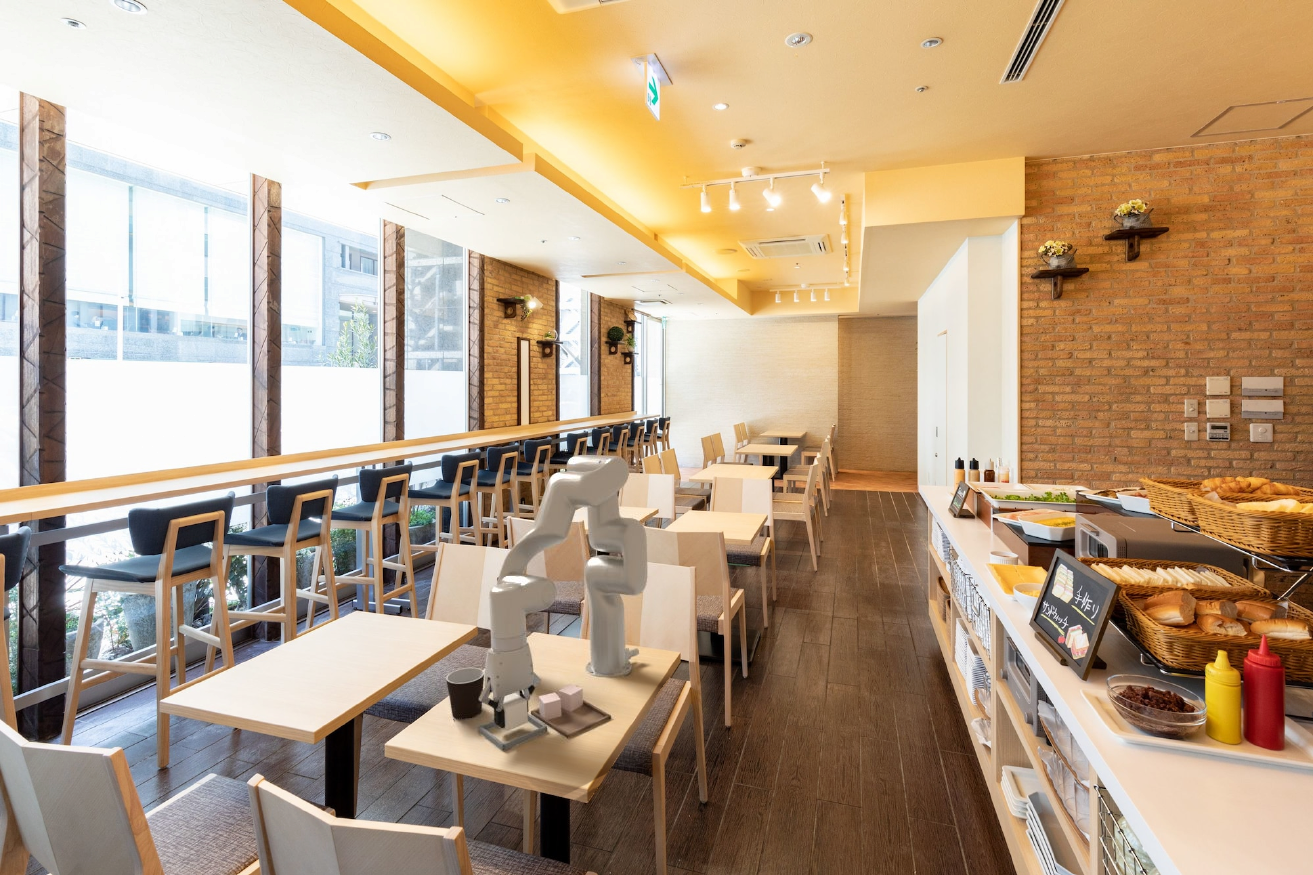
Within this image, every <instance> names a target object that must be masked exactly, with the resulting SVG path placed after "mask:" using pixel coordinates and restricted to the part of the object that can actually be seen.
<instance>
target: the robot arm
mask: <svg viewBox="0 0 1313 875" xmlns="http://www.w3.org/2000/svg"><path fill="white" fill-rule="evenodd" d="M629 475H630V466H629V465H628V463H627V460H625V459H624V458H623V457H621V456H617V455H604V454H603V455H602V454H601V455H599V454H580V455H579V454H578V455H574V456H572V457H570V458H569V460H568V461H567V463H566V471H559V472H556V473H554V474H552V475H551V476H550V478H549V480H548V482H547V484H546V487H545V490H544V494H543V496H542V499H541V502H540V505H539V508H538V511H537V514H536V517H535V520H534V522H533V523H534V524H533V526H532V527H531V529H530V530H529V531H528V532H527V533H525V534H524V535H523V536H522V537H521V538H520V539H519V540H518V541H517V543H516V544H515V545H513V547H511V548H510V550H509V551H508V553H507V555H506V556H505V558H504V560H503V564H502V566H501V569H500V572H499V575H498V577H499V578H498V577H497V578H498V582H496V585H494V586H493V587H492V588H490V590H489V596H488V597H489V599H488V600H489V616H490V617H489V620H490V646H491V647H490V648H488V649H487V652H486V658H485V664H484V687H483V691H482V693H481V695H480V697H479V700H480V701H481V702H482V704H485V705H487V706H489V707H491V708H492V709H493V720H494V722H495V724H496V725H498V726H497V727H499V728H500V729H503V730H504V728H505V715H504V710H503V709H502V707H503V702H504V697H506V696H509V695H512V694H515V693H518V695H519V696H521V697H522V698H524V699H525V700H527V714H529V711H530V710H529V702H530V700H531V695H532V694H533V692H534V691H535V689H536V688H537V686H538V685H539V683H540V682H541V678H540V677H539V676H538V675H537V673H535V672H534V662H533V656H532V651H531V647H530V644H529V642H528V639H527V638H528V637H529V636H531V634H532V632H531V630H530V629H527V626H526V624H527V619H526V616H527V615H528V614H531V613H537V612H541V611H544V610H546V609H548V608H550V607H551V606H552V605H553V604H554V602H555V601H556V597H557V594H558V592H557V591H558V589H557V587H556V584H555V582H554V581H553V580H551V579H550V578H548V577H544V576H539V575H533V574H528V573H525V571H526V568H527V567H528V565H529V563H530V562H531V561H532V560H533V558H534V557H535V556H537V555H538V554H540V553H541V552H543V551H545V550H547V549H549V548H551V547H554V546H556V545H559V544H561V543H564V541H566V540H567V538H568V535H569V532H570V529H571V526H572V523H573V521H574V520H573V519H574V516H575V514H576V510H577V508H586V509H587V510H586V511H587V531H588V532H587V533H588V536H587V537H588V542H589V545H590V547H591V548H592V549H593V550H596V551H598V552H599V551H600V552H602V553H603V552H605V553H612V554H618V555H619V554H621V556H622V557H620V556H614V555H607V554H606V555H605V554H602V555H601V554H600V555H595V556H592V557H591V558H589V559H588V560H587V562H586V564H585V566H584V570H583V577H584V584H585V588H586V592H587V597H588V614H589V615H588V617H589V618H588V619H589V642H590V643H589V644H590V646H589V648H590V650H589V651H590V662H588V663H587V664H586V665H585V672H586V673H587V674H589V675H590V676H594V677H598V678H612V677H618V676H627V675H628V674H629V673H630V672H631V671H632V667H633V666H632V663H631V662H630V660H631V658H633V657H636V656H638V655H639V654H640V650H639V648H637V647H635V648H632V649H630V648H629V647H626V628H625V626H626V625H625V622H626V621H625V620H626V619H625V605H624V602H623V598H622V595H624V596H632V597H633V596H639V595H641V594H642V593H643V591H644V590H645V589H646V586H647V582H648V544H647V540H648V539H647V532H646V529H645V527H644V525H643V524H642V523H641V521H640V520H638V519H635V518H633V517H622V516H621V514H620V507H619V506H620V505H619V504H620V502H619V497H618V496H619V495H618V492H619V491H620V490H622V489H623V487H624V486H625V485H626V483H627V482H628V480H629V477H630V476H629ZM491 694H492V698H489V697H490V695H491Z"/></svg>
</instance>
